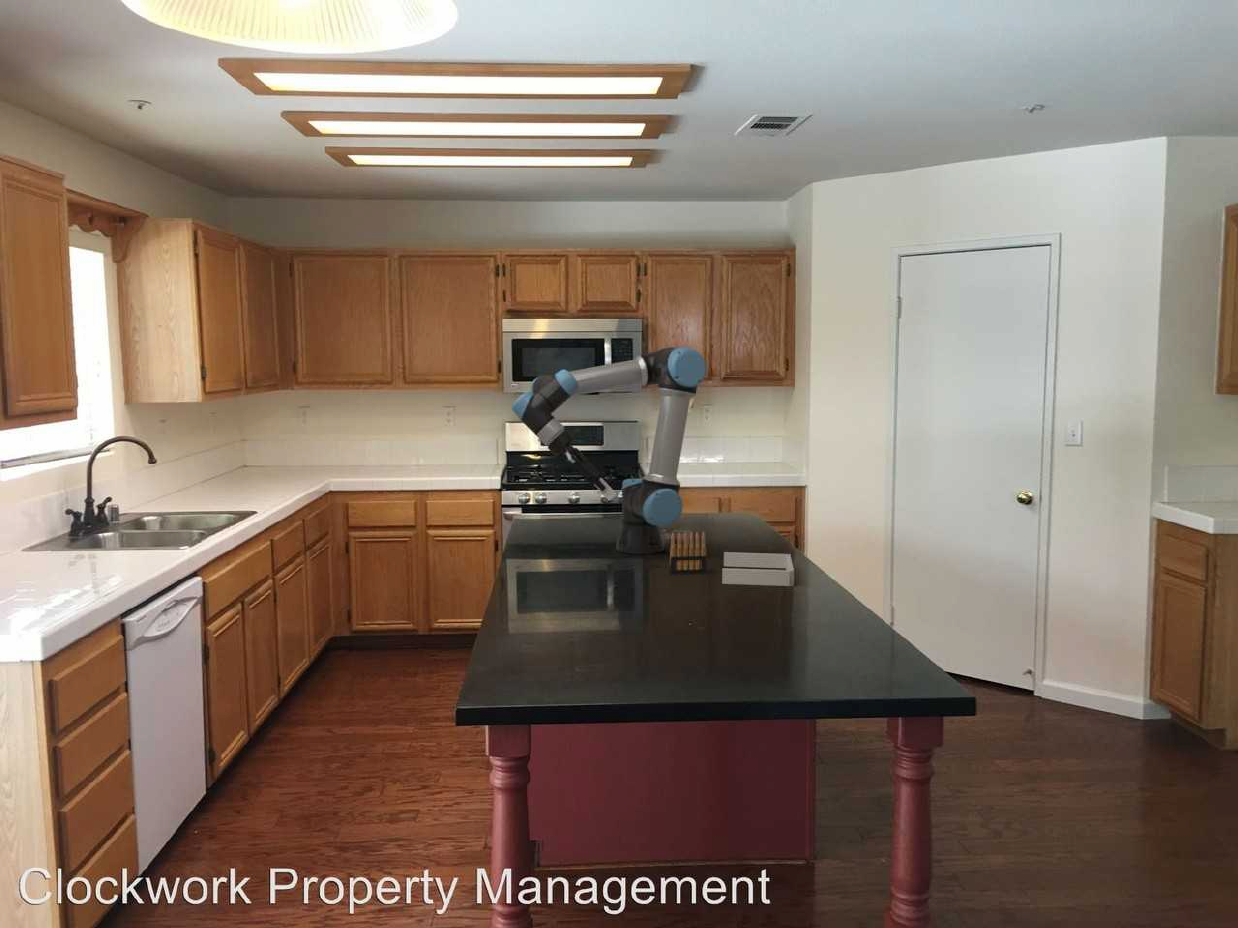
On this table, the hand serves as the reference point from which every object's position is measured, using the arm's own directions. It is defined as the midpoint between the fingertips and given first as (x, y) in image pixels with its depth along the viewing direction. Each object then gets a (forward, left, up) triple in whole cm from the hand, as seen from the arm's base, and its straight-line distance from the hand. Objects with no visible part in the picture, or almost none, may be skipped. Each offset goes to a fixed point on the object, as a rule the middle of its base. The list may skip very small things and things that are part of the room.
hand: (613, 497), depth 264 cm
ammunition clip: (0, +21, -22) cm, 31 cm away
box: (0, +40, -21) cm, 46 cm away
